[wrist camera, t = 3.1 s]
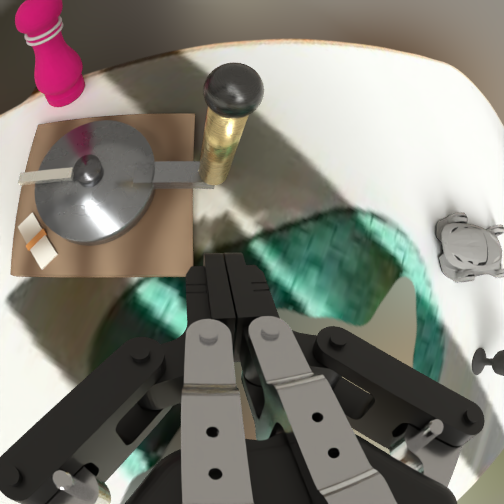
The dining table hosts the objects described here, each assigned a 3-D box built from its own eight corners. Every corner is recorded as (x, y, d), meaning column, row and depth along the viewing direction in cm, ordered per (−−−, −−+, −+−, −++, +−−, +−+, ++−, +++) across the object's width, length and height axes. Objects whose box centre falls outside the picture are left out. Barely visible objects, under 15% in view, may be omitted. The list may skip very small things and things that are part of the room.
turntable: (22, 247, 26) (-75, 192, 10) (42, 138, 28) (-10, 47, 12) (231, 243, 31) (282, 168, 15) (227, 130, 34) (261, 18, 18)
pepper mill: (69, 70, 33) (43, -29, 14) (97, 83, 34) (74, -28, 15) (37, 101, 31) (-7, 5, 12) (62, 116, 32) (17, 8, 13)
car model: (501, 280, 44) (519, 276, 40) (431, 283, 39) (455, 279, 34) (494, 227, 47) (511, 221, 42) (423, 213, 42) (445, 204, 37)
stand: (16, 276, 27) (8, 274, 25) (41, 130, 31) (37, 122, 29) (193, 276, 32) (193, 273, 30) (194, 120, 36) (195, 111, 34)
